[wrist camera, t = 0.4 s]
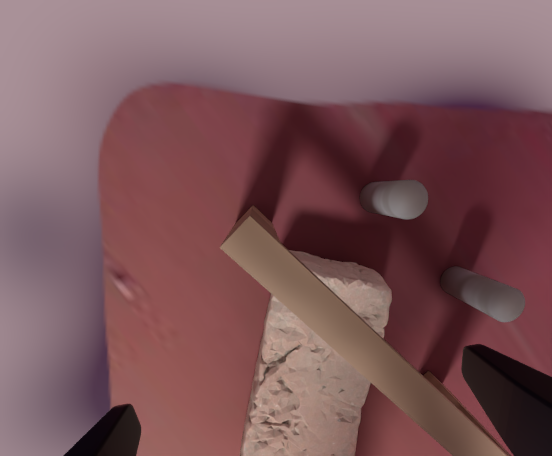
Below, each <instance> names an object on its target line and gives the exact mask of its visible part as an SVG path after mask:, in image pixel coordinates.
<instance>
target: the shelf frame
mask: <svg viewBox="0 0 552 456" xmlns="http://www.w3.org/2000/svg"><path fill="white" fill-rule="evenodd" d="M360 203H361V206H362V207H363V208H364V209H365V210H366V211H368V212H371V213H376V214H381V215H386V216H391V217H396V218H401V219H413V218H416V217H418V216H419V215H421V214H422V213H423V211H424V210H425V208H426V206H427V203H428V193H427V190H426V188H425V187H424V186H423V185H422V184H421V183H420V182H418V181H415V180H399V181H383V182H372V183H369V184H367V185H366V186H365V187H364V188H363V189H362V191H361V193H360ZM220 248H221V249H222V250H223V251H224V252H225V253H226V254H227V255H229V256H230V257H231V258H232V259H233V260H234V261H235V262H236V263H238V264H239V265H240V266H241V267H242V268H243V269H244V270H245V271H247V272H248V273H249V274H250V275H251V276H252V277H253V278H254V279H255V280H257V281H258V282H259V283H260V284H261V285H262V286H263V287H264V288H266V289H267V290H268V291H269V292H270V293H271V294H272V295H273V296H275V297H276V298H277V299H278V300H279V301H280V302H281V303H282V304H283V305H285V306H286V307H287V308H288V309H289V310H290V311H291V312H292V313H294V314H295V315H296V316H297V317H298V318H299V319H300V320H301V321H303V322H304V323H305V324H306V325H307V326H308V327H309V328H310V329H312V330H313V331H314V332H315V333H316V334H317V335H318V336H319V337H320V338H322V339H323V340H324V341H325V342H326V343H327V344H328V345H329V346H331V347H332V348H333V349H334V350H335V351H336V352H337V353H338V354H340V355H341V356H342V357H343V358H344V359H345V360H346V361H347V362H348V363H350V364H351V365H352V366H353V367H354V368H355V369H356V370H357V371H359V372H360V373H361V374H362V375H363V376H364V377H365V378H366V379H368V380H369V381H370V382H371V383H372V384H373V385H374V386H375V387H377V388H378V389H379V390H380V391H381V392H382V393H383V394H384V395H385V396H387V397H388V398H389V399H390V400H391V401H392V402H393V403H394V404H396V405H397V406H398V407H399V408H400V409H401V410H402V411H403V412H405V413H406V414H407V415H408V416H409V417H410V418H411V419H412V420H413V421H415V422H416V423H417V424H418V425H419V426H420V427H421V428H422V429H424V430H425V431H426V432H427V433H428V434H429V435H430V436H431V437H433V438H434V439H435V440H436V441H437V442H438V443H439V444H440V445H441V446H443V447H444V448H445V449H446V450H447V451H448V452H449V453H450V454H452V455H453V456H511V455H510V454H509V453H508V452H507V451H506V450H505V449H504V448H503V447H502V446H501V445H500V444H499V443H498V442H497V440H496V439H495V438H494V437H493V436H492V435H491V434H490V433H489V432H488V431H487V430H486V429H485V428H484V427H483V426H482V425H481V424H480V423H479V422H478V420H477V419H476V418H475V417H474V416H473V415H472V414H471V413H470V412H469V411H468V410H467V409H466V408H465V407H464V406H463V405H462V404H461V403H460V402H459V401H458V399H457V398H456V397H455V396H454V395H453V394H452V393H451V392H450V391H449V390H448V389H447V388H446V387H445V386H444V385H443V384H442V383H441V382H440V381H439V380H438V379H437V378H436V377H435V376H434V375H433V374H432V373H431V372H430V371H427V372H426V373H425V374H424V375H422V374H421V373H420V372H418V371H417V370H416V369H415V368H414V367H413V366H412V365H411V364H410V363H409V362H408V361H407V360H406V359H405V358H403V357H402V356H401V355H400V354H399V353H398V352H397V351H396V350H395V349H394V348H393V347H392V346H391V345H390V344H389V343H387V342H386V341H385V340H384V339H383V338H382V337H381V336H380V335H379V334H378V333H377V332H376V331H375V330H374V329H372V328H371V327H370V326H369V325H368V324H367V323H366V322H365V321H364V320H363V319H362V318H361V317H360V316H359V315H358V314H356V313H355V312H354V311H353V310H352V309H351V308H350V307H349V306H348V305H347V304H346V303H345V302H344V301H343V300H341V299H340V298H339V297H338V296H337V295H336V294H335V293H334V292H333V291H332V290H331V289H330V288H329V287H328V286H327V285H325V284H324V283H323V282H322V281H321V280H320V279H319V278H318V277H317V276H316V275H315V274H314V273H313V272H312V271H310V270H309V269H308V268H307V267H306V266H305V265H304V264H303V263H302V262H301V261H300V260H299V259H298V258H297V257H296V256H294V255H293V254H292V253H291V252H290V251H289V250H288V249H287V248H286V247H285V246H284V245H283V244H282V243H281V242H280V241H279V238H278V236H277V234H276V231H275V229H274V227H273V224H272V222H271V221H270V220H268V219H267V218H266V217H265V216H264V215H263V214H262V213H261V212H260V211H259V210H258V209H257V208H256V207H255V206H254V205H253V206H252V207H251V208H250V209H249V210H248V211H247V212H246V213H245V214H244V215H243V216H242V217H241V218H240V219H239V220H238V221H237V222H236V223H235V225H234V226H233V228H232V229H231V231H230V233H229V234H228V236H227V237H226V239H225V240H224V242H223V243H222V245H221V246H220ZM440 283H441V287H442V289H443V290H444V291H445V292H447V293H448V294H450V295H452V296H454V297H456V298H458V299H460V300H461V301H463V302H465V303H467V304H469V305H471V306H472V307H474V308H476V309H478V310H480V311H482V312H483V313H485V314H487V315H489V316H491V317H493V318H494V319H496V320H498V321H501V322H510V321H513V320H515V319H516V318H517V317H519V315H520V314H521V313H522V311H523V309H524V306H525V298H524V296H523V294H522V292H521V291H519V290H518V289H516V288H513V287H511V286H508V285H505V284H503V283H500V282H498V281H495V280H492V279H490V278H487V277H485V276H482V275H479V274H477V273H474V272H472V271H469V270H466V269H464V268H461V267H457V266H454V267H450V268H448V269H447V270H446V271H445V272H444V273H443V274H442V276H441V281H440Z"/></svg>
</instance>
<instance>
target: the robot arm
mask: <svg viewBox="0 0 552 456" xmlns="http://www.w3.org/2000/svg"><path fill="white" fill-rule="evenodd" d="M462 374H463V377H464V379H465V381H466V382H467V384H468V386H469V387H470V389H471V390H472V392H473V394H474V395H475V397H476V398H477V400H478V402H479V403H480V405H481V406H482V408H483V409H484V411H485V413H486V414H487V416H488V417H489V419H490V421H491V422H492V424H493V425H494V427H495V429H496V430H497V432H498V433H499V435H500V436H501V438H502V439H503V441H504V442H505V444H506V445H507V446H508V448H509V449H510V451H511V452H512V453H513V455H514V456H552V377H550V376H548V375H546V374H544V373H542V372H540V371H538V370H536V369H533V368H531V367H529V366H527V365H525V364H523V363H521V362H518V361H516V360H514V359H512V358H510V357H508V356H506V355H503V354H501V353H499V352H497V351H495V350H493V349H491V348H488V347H486V346H484V345H481V344H475V345H469V346H465V347H464V349H463V356H462ZM140 436H141V425H140V422H139V420H138V417H137V415H136V413H135V410H134V408H133V406H132V405H131V404H123V405H117V406H115V407H113V408H112V409H111V410H110V411H109V412H107V413H106V415H105V416H103V417H102V418H101V419H100V420H99V422H97V424H95V425H94V426H93V427H92V428H91V429H90V430H89V431H88V432H87V433H86V434H85V435H84V436H83V437H82V438H81V439H80V440H79V441H78V442H77V443H76V444H75V445H74V446H73V447H72V448H71V449H70V450H69V451H68V452H67V453H66V454H65V455H64V456H136V454H137V449H138V445H139V441H140Z"/></svg>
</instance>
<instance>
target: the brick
mask: <svg viewBox="0 0 552 456" xmlns="http://www.w3.org/2000/svg"><path fill="white" fill-rule="evenodd" d="M289 251H290V252H291V253H292V254H293V255H294V256H296V257H297V258H298V259H299V260H300V261H301V262H302V263H303V264H304V265H305V266H306V267H307V268H308V269H309V270H310V271H312V272H313V273H314V274H315V275H316V276H317V277H318V278H319V279H320V280H321V281H322V282H323V283H324V284H325V285H327V286H328V287H329V288H330V289H331V290H332V291H333V292H334V293H335V294H336V295H337V296H338V297H339V298H340V299H341V300H343V301H344V302H345V303H346V304H347V305H348V306H349V307H350V308H351V309H352V310H353V311H354V312H355V313H356V314H358V315H359V316H360V317H361V318H362V319H363V320H364V321H365V322H366V323H367V324H368V325H369V326H370V327H371V328H372V329H374V330H375V331H376V332H377V333H378V334H379V335H380V336H381V337H382V338H384V327H385V326H386V325H387V322H388V317H389V306H390V304H391V301H392V295H391V289H390V288H389V287H388V286H387V284H386V282H385V281H384V279H383V278H382V277H381V275H380V274H379V273H377V272H376V271H375V270H374V269H369V268H367V267H364V266H362V265H358V264H357V263H354V262H340V261H335V260H329V259H323V258H322V259H321V258H320V257H318V256H312V255H310V254H308V253H305V252H301V251H292V250H289ZM370 384H371V382H370V381H369V380H368V379H366V378H365V377H364V376H363V375H362V374H361V373H360V372H359V371H357V370H356V369H355V368H354V367H353V366H352V365H351V364H350V363H348V362H347V361H346V360H345V359H344V358H343V357H342V356H341V355H340V354H338V353H337V352H336V351H335V350H334V349H333V348H332V347H331V346H329V345H328V344H327V343H326V342H325V341H324V340H323V339H322V338H320V337H319V336H318V335H317V334H316V333H315V332H314V331H313V330H312V329H310V328H309V327H308V326H307V325H306V324H305V323H304V322H303V321H301V320H300V319H299V318H298V317H297V316H296V315H295V314H294V313H292V312H291V311H290V310H289V309H288V308H287V307H286V306H285V305H283V304H282V303H281V302H280V301H279V300H278V299H277V298H276V297H275V296H273V295H272V294H271V296H270V300H269V304H268V308H267V314H266V317H265V320H264V332H263V336H262V340H261V343H260V350H259V354H258V359H257V363H256V369H255V374H254V378H253V382H252V389H251V395H250V400H249V403H248V409H247V415H246V419H245V425H244V430H243V436H242V440H241V449H240V456H355V451H356V443H357V436H358V426H359V424H360V420H361V407H362V406H363V404H364V403H365V400H366V396H367V393H368V390H369V387H370Z"/></svg>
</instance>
